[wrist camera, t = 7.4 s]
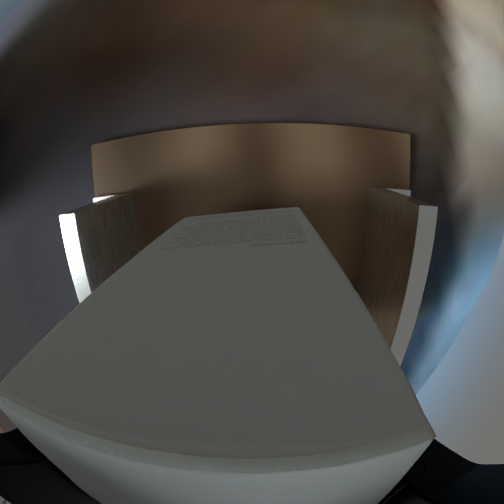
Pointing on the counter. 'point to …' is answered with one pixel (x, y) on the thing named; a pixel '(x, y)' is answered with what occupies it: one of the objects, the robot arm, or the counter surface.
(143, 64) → the counter surface
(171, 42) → the counter surface
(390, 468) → the small box
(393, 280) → the bookends
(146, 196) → the shelf board
